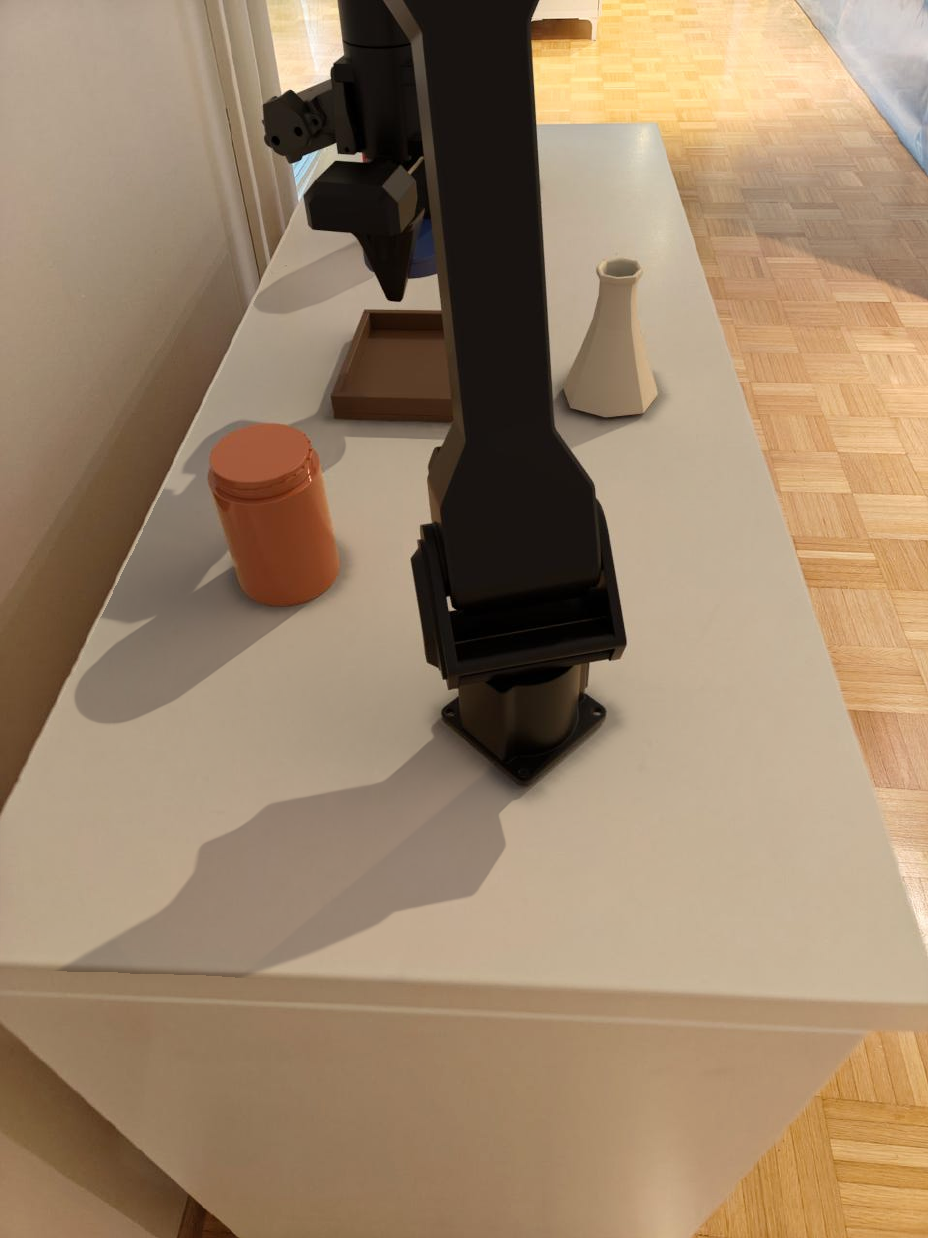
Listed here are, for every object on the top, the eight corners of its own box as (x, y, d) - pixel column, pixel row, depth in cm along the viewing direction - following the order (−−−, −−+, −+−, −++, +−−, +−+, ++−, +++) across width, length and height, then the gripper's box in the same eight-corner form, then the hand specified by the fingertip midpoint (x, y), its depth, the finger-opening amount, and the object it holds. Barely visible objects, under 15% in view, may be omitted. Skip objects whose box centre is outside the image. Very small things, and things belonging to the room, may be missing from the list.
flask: (654, 424, 67) (670, 295, 60) (556, 416, 68) (560, 289, 61) (660, 371, 72) (675, 246, 65) (568, 365, 73) (573, 241, 66)
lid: (473, 242, 67) (472, 223, 66) (437, 285, 63) (436, 265, 62) (388, 232, 69) (386, 213, 68) (348, 272, 65) (345, 252, 64)
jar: (277, 622, 55) (243, 502, 48) (219, 571, 58) (180, 452, 52) (360, 569, 58) (339, 449, 51) (300, 523, 61) (273, 405, 54)
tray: (480, 422, 68) (479, 399, 67) (334, 418, 69) (330, 396, 68) (496, 332, 77) (496, 310, 76) (366, 330, 78) (364, 308, 77)
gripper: (326, -7, 64) (355, 217, 75) (199, 77, 52) (257, 329, 63) (478, -4, 62) (485, 228, 73) (382, 85, 49) (408, 347, 61)
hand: (410, 278), depth 67 cm, fingers closed on lid, 6 cm apart
